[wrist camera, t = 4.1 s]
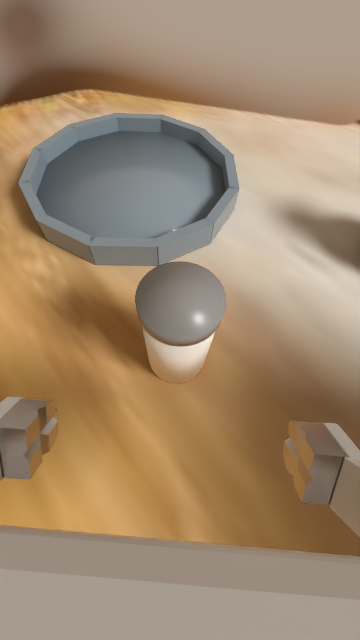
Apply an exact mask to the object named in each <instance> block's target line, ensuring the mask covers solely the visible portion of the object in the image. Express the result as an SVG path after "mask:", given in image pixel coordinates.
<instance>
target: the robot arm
mask: <svg viewBox="0 0 360 640" xmlns="http://www.w3.org/2000/svg"><path fill="white" fill-rule="evenodd" d="M56 411H57V409H56V402H55V401H54V400H46V399H37V398H28V397H17V396H9V397H6V398H5V399H4V400H3V401H2V402H1V403H0V481H1V480H2V479H3V478H16V479H31V478H32V477H33V475H34V474H35V472H36V471H37V469H38V468H39V466H40V465H41V463H42V455H44V454H45V453H47V452H49V451H50V449H51V448H52V446H53V445H54V442H55V439H56V436H57V430H58V423H57V421H56V420H55V418H54V417H53V415H54V414H55V413H56ZM287 432H288V434H289V436H290V437H289V438H288V439H287V440H285V441H284V446H283V460H284V464H285V467H286V469H287V471H288V472H289V473H290V474H291V475H292V476H293V477H294V480H293V485H294V488H295V490H296V492H297V494H298V497H299V499H300V501H301V503H309V504H318V505H326V506H329V508H330V509H331V510H332V511H333V512H334V513H335V514H336V515H337V516H338V517H339V518H340V519H341V520H342V521H343V522H344V523H345V524H346V525H347V526H348V527H349V528H350V529H351V530H352V531H353V532H354V533H355V534H356V535H357V536H358V537H359V538H360V450H359V449H358V448H357V447H356V445H355V444H354V443H353V442H352V441H351V439H350V438H349V437H348V436H347V434H346V433H345V432H344V431H343V430H342V428H341V427H340V426H339V425H337V424H336V423H323V422H320V423H316V422H303V421H290V423H289V424H288V428H287ZM0 640H360V556H351V555H339V554H327V553H316V552H304V551H293V550H281V549H270V548H259V547H248V546H236V545H225V544H214V543H202V542H191V541H179V540H167V539H156V538H144V537H133V536H121V535H110V534H98V533H86V532H75V531H63V530H52V529H40V528H29V527H17V526H6V525H0Z"/></svg>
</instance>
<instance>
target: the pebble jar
mask: <svg viewBox="0 0 360 640" xmlns="http://www.w3.org/2000/svg"><path fill="white" fill-rule="evenodd" d="M135 303H136V308H137V313H138V317H139V321H140V323H141V325H142V328H143V333H144V339H145V344H146V349H147V354H148V359H149V363H150V367H151V369H152V370H153V372H154V373H155V374H156V375H157V376H158V377H159V378H160V379H162V380H164V381H166V382H169V383H174V384H180V383H185V382H188V381H190V380H192V379H193V378H195V377H196V376H197V375H198V374H199V372H200V371H201V369H202V367H203V364H204V362H205V359H206V356H207V353H208V350H209V347H210V345H211V342H212V339H213V336H214V333H215V331H216V329H217V328H218V326H219V324H220V322H221V319H222V317H223V314H224V311H225V307H226V295H225V291H224V288H223V286H222V284H221V282H220V281H219V280H218V278H217V277H216V276H215V275H214V274H213V273H212V272H210V271H209V270H207V269H206V268H204V267H202V266H199V265H197V264H193V263H189V262H170V263H166V264H162V265H160V266H158V267H156V268H154V269H152V270H151V271H149V272H148V273H147V274H146V275H145V276H144V277H143V278H142V280H141V281H140V283H139V285H138V287H137V290H136V295H135Z"/></svg>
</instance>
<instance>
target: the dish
mask: <svg viewBox="0 0 360 640" xmlns="http://www.w3.org/2000/svg"><path fill="white" fill-rule="evenodd" d="M18 184H19V186H20V188H21V190H22V192H23V194H24V196H25V198H26V200H27V202H28V204H29V207H30V209H31V211H32V213H33V215H34V217H35V219H36V221H37V223H38V225H39V226H40V228H41V230H42V232H43V234H44V236H45V237H46V239H47V241H49V242H51V243H53V244H55V245H57V246H59V247H61V248H63V249H65V250H67V251H69V252H71V253H73V254H75V255H77V256H79V257H81V258H83V259H85V260H87V261H89V262H91V263H93V264H96V265H138V266H158V265H162V264H164V263H166V262H169V261H171V260H173V259H176V258H178V257H180V256H183V255H185V254H187V253H190V252H192V251H194V250H197V249H199V248H201V247H204V246H206V245H208V244H210V243H211V242H212V240H213V239H214V238H215V236H216V235H217V233H218V232H219V230H220V229H221V228H222V226H223V225H224V223H225V222H226V220H227V219H228V217H229V216H230V215H231V213H232V212H233V210H234V207H235V203H236V200H237V196H238V192H239V184H238V178H237V173H236V167H235V162H234V156H233V154H232V153H231V152H230V151H229V150H227V149H226V148H225V147H224V146H223V145H222V144H221V143H220V142H219V141H217V140H216V139H215V138H214V137H213V136H212V135H211V134H210V133H208V132H207V131H206V130H205V129H203V128H200V127H197V126H194V125H191V124H188V123H185V122H182V121H179V120H176V119H174V118H171V117H168V116H165V115H163V116H162V115H153V114H126V113H116V114H115V113H114V114H110V115H105V116H101V117H97V118H93V119H89V120H85V121H81V122H77V123H72V124H70V125H67V126H66V127H64V128H63V129H61V130H60V131H58V132H57V133H55V134H54V135H52V136H51V137H49V138H48V139H46V140H45V141H43V142H42V143H40V144H39V145H37V146H36V147H34V149H33V150H32V152H31V154H30V157H29V159H28V161H27V164H26V166H25V168H24V170H23V173H22V175H21V177H20V180H19V182H18Z"/></svg>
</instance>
